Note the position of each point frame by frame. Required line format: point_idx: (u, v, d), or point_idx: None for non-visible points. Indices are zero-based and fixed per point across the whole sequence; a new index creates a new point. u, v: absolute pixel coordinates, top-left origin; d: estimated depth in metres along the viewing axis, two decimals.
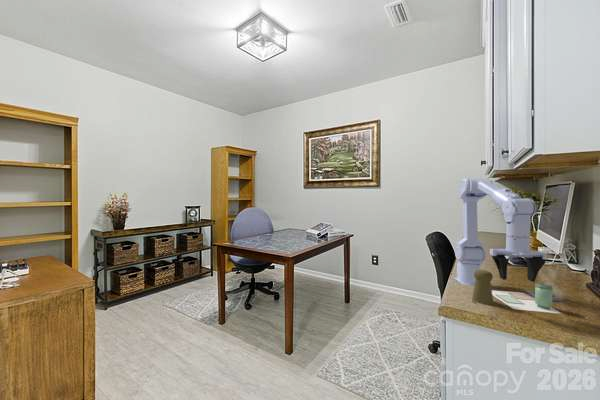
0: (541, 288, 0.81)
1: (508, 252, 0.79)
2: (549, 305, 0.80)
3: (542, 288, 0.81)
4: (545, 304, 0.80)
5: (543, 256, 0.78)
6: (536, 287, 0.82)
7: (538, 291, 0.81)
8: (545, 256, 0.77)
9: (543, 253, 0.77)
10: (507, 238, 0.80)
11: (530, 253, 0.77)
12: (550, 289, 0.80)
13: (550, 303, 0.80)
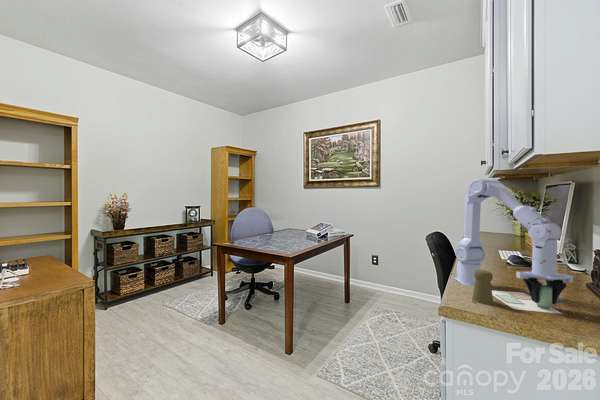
0: (541, 288, 0.81)
1: (535, 276, 0.81)
2: (549, 305, 0.80)
3: (542, 288, 0.81)
4: (545, 304, 0.80)
5: (569, 280, 0.80)
6: None
7: None
8: (571, 280, 0.79)
9: (569, 277, 0.80)
10: (534, 261, 0.82)
11: (557, 277, 0.79)
12: (550, 289, 0.80)
13: (550, 303, 0.80)
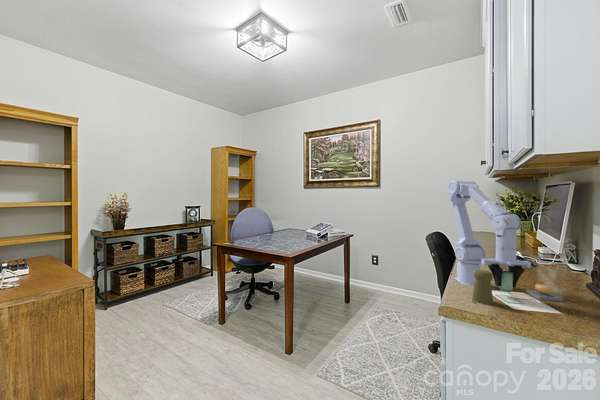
0: (503, 273, 0.89)
1: (497, 262, 0.89)
2: (510, 288, 0.88)
3: (504, 273, 0.89)
4: (506, 288, 0.89)
5: (528, 265, 0.88)
6: None
7: (501, 276, 0.90)
8: (529, 265, 0.88)
9: (527, 263, 0.88)
10: (496, 249, 0.91)
11: (516, 263, 0.88)
12: (511, 274, 0.88)
13: (511, 286, 0.88)
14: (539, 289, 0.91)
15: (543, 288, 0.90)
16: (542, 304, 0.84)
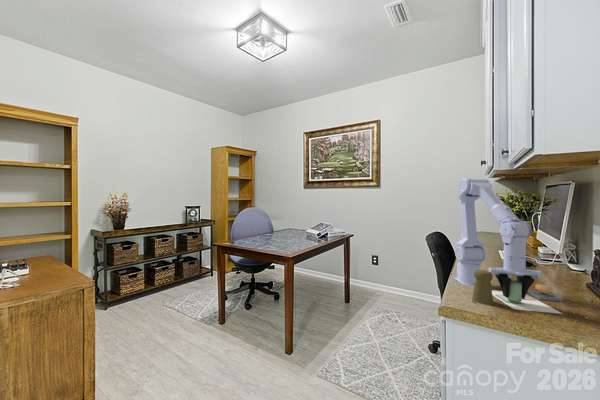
0: (512, 283, 0.84)
1: (505, 271, 0.84)
2: (519, 300, 0.84)
3: (512, 283, 0.84)
4: (515, 299, 0.84)
5: (538, 275, 0.83)
6: None
7: None
8: (539, 275, 0.83)
9: (538, 273, 0.83)
10: (504, 258, 0.86)
11: (526, 273, 0.83)
12: (520, 284, 0.83)
13: (520, 298, 0.84)
14: (539, 289, 0.91)
15: (543, 288, 0.90)
16: (542, 304, 0.84)
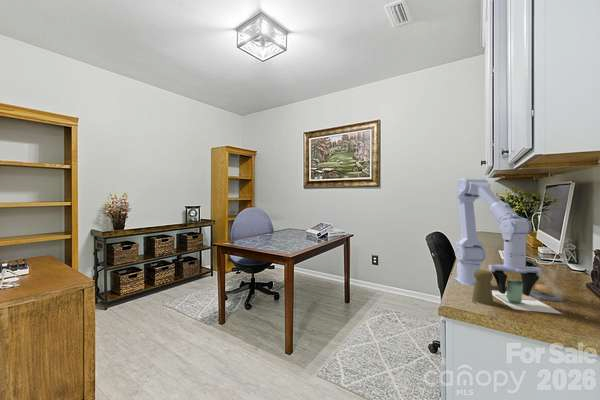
0: (512, 284, 0.84)
1: (505, 268, 0.84)
2: (519, 300, 0.83)
3: (513, 284, 0.84)
4: (515, 299, 0.84)
5: (538, 272, 0.83)
6: (508, 283, 0.85)
7: (510, 286, 0.85)
8: (540, 272, 0.83)
9: (538, 269, 0.83)
10: (504, 255, 0.86)
11: (526, 269, 0.83)
12: (521, 285, 0.83)
13: (520, 298, 0.83)
14: (539, 289, 0.91)
15: (543, 288, 0.90)
16: (542, 304, 0.84)
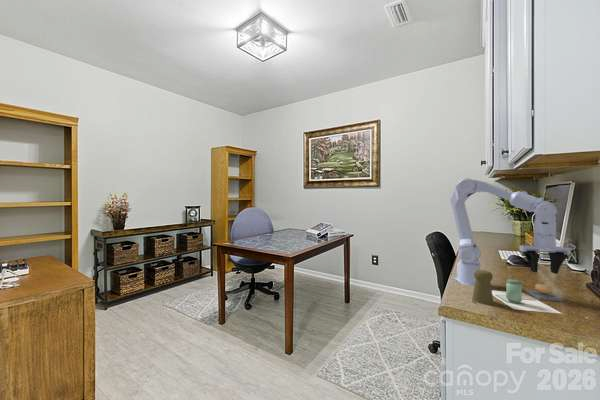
0: (511, 283, 0.84)
1: (537, 248, 0.90)
2: (519, 299, 0.84)
3: (512, 283, 0.84)
4: (515, 299, 0.84)
5: (567, 251, 0.89)
6: (507, 283, 0.86)
7: (509, 286, 0.85)
8: (569, 251, 0.89)
9: (567, 249, 0.89)
10: (535, 236, 0.92)
11: (556, 249, 0.88)
12: (520, 284, 0.84)
13: (520, 298, 0.84)
14: (539, 289, 0.91)
15: (543, 288, 0.90)
16: (542, 304, 0.84)
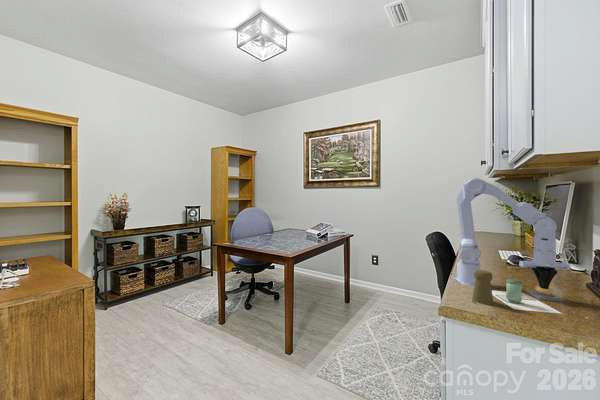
0: (511, 283, 0.84)
1: (536, 264, 0.90)
2: (519, 299, 0.84)
3: (512, 283, 0.84)
4: (515, 299, 0.84)
5: (567, 268, 0.89)
6: (507, 283, 0.86)
7: (509, 286, 0.85)
8: (569, 268, 0.89)
9: (567, 265, 0.89)
10: (535, 251, 0.92)
11: (556, 265, 0.88)
12: (519, 284, 0.84)
13: (520, 298, 0.84)
14: (539, 291, 0.91)
15: (543, 290, 0.90)
16: (542, 304, 0.84)
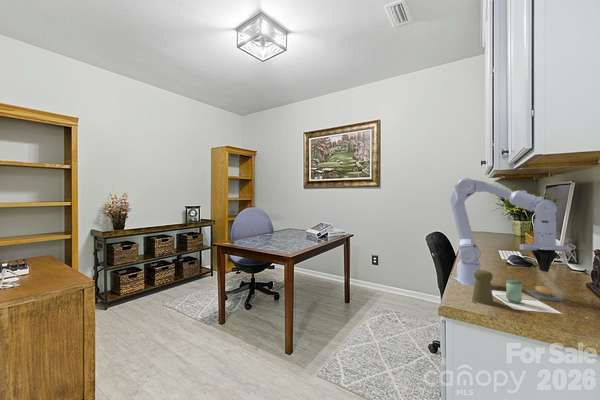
0: (511, 283, 0.84)
1: (537, 247, 0.90)
2: (519, 299, 0.84)
3: (512, 283, 0.84)
4: (515, 299, 0.84)
5: (567, 250, 0.89)
6: (507, 283, 0.86)
7: (509, 286, 0.85)
8: (569, 250, 0.89)
9: (567, 247, 0.89)
10: (535, 234, 0.92)
11: (556, 247, 0.88)
12: (520, 284, 0.84)
13: (520, 298, 0.84)
14: (539, 291, 0.91)
15: (543, 290, 0.90)
16: (542, 304, 0.84)
